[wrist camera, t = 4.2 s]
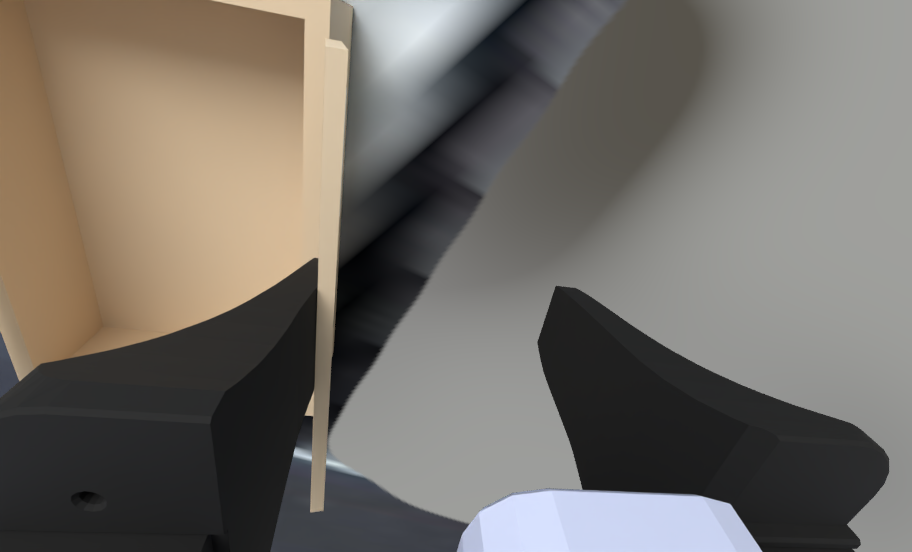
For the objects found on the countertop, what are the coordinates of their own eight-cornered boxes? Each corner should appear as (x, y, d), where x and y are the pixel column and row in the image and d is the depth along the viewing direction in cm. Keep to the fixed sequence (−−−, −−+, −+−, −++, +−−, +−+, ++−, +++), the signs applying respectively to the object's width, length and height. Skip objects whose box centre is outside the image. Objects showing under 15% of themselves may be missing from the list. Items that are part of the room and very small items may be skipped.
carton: (335, 362, 21) (318, 428, 17) (101, 342, 19) (30, 409, 16) (358, -17, 14) (337, -36, 10) (-10, -97, 12) (-184, -152, 9)
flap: (312, 417, 16) (323, 417, 16) (310, 512, 13) (323, 511, 13) (325, 38, 10) (341, 41, 10) (325, 45, 7) (348, 50, 7)
